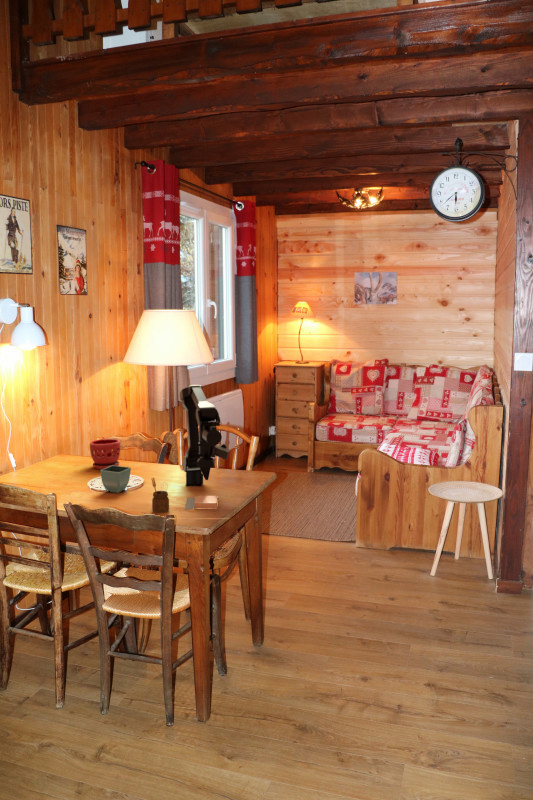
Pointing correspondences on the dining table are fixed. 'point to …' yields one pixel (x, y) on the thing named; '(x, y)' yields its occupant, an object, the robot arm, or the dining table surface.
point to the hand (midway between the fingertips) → (206, 479)
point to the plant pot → (105, 453)
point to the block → (206, 502)
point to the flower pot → (115, 478)
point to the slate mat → (190, 503)
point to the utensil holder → (160, 500)
